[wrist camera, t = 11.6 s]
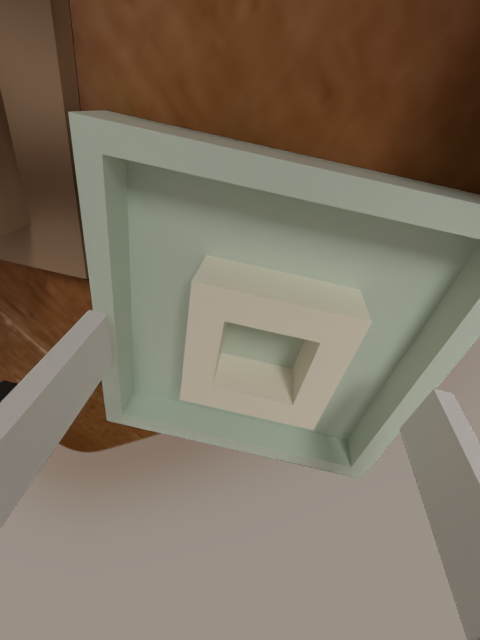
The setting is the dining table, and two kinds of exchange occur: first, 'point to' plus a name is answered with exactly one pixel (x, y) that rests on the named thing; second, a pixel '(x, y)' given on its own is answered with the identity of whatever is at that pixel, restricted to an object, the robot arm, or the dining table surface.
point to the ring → (274, 316)
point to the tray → (276, 254)
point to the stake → (39, 138)
